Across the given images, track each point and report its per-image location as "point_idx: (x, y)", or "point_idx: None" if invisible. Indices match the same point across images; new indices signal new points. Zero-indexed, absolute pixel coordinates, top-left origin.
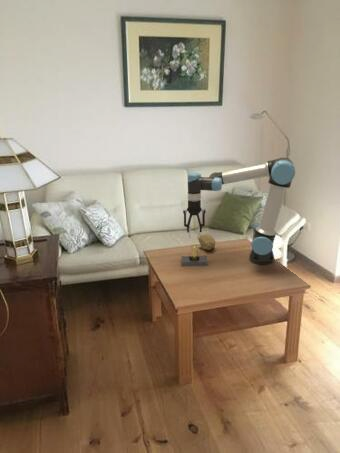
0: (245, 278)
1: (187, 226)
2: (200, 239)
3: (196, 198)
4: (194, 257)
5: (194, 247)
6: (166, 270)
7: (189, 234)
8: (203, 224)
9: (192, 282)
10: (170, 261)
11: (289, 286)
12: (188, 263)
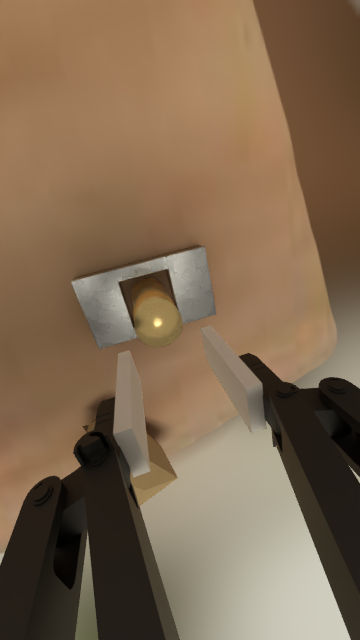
0: None
1: (296, 390)
2: (158, 462)
3: None
4: (147, 286)
5: (153, 302)
6: (258, 177)
7: (220, 341)
8: (41, 511)
9: (96, 13)
10: (251, 282)
11: None
12: (169, 254)
